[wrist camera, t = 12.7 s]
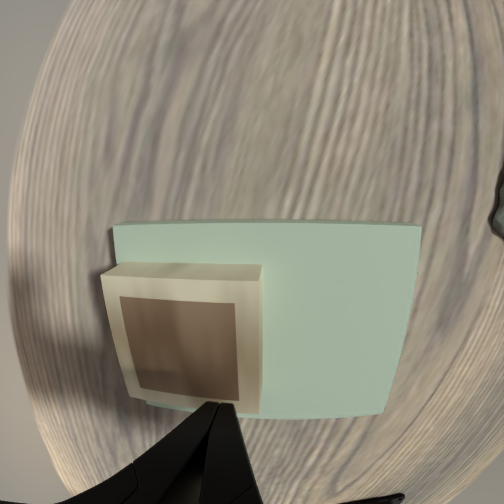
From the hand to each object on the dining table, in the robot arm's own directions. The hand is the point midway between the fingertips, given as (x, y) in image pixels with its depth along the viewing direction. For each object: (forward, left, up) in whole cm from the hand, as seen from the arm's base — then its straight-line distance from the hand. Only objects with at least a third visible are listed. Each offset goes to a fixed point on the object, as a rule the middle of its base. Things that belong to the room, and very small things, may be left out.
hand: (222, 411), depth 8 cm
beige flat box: (0, -1, -4) cm, 4 cm away
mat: (0, -1, -6) cm, 6 cm away
